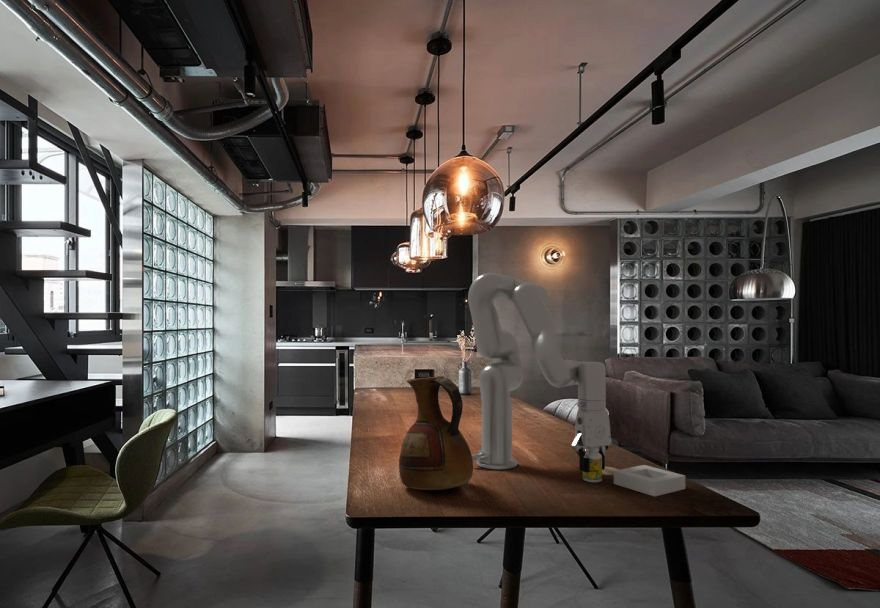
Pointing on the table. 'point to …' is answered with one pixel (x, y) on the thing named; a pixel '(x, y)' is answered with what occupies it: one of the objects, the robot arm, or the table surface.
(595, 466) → the supplement bottle
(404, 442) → the ceramic pitcher
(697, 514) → the table surface
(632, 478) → the socket block
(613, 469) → the cork coaster
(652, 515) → the table surface
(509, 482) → the table surface
